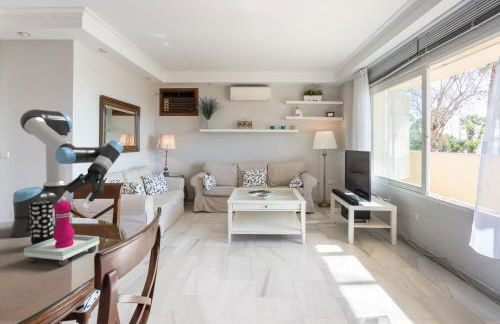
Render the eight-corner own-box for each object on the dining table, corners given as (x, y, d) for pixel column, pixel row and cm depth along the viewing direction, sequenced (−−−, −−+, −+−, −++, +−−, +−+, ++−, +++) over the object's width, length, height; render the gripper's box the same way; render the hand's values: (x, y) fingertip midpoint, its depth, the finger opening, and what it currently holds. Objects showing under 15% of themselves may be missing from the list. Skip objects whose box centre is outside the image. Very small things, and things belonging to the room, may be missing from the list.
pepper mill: (50, 249, 108) (48, 199, 107) (57, 243, 115) (55, 196, 114) (71, 247, 110) (69, 198, 109) (77, 241, 117) (75, 195, 116)
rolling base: (24, 263, 106) (23, 248, 105) (65, 247, 123) (64, 233, 123) (63, 268, 102) (62, 252, 101) (99, 250, 119) (99, 236, 119)
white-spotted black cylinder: (51, 241, 130) (49, 199, 129) (56, 245, 125) (55, 202, 124) (29, 246, 124) (27, 202, 123) (34, 250, 119) (32, 205, 117)
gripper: (126, 173, 127) (100, 213, 113) (84, 171, 134) (55, 208, 121) (116, 163, 121) (88, 203, 108) (74, 161, 129) (43, 199, 116)
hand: (71, 206), depth 114 cm, fingers open, 13 cm apart
